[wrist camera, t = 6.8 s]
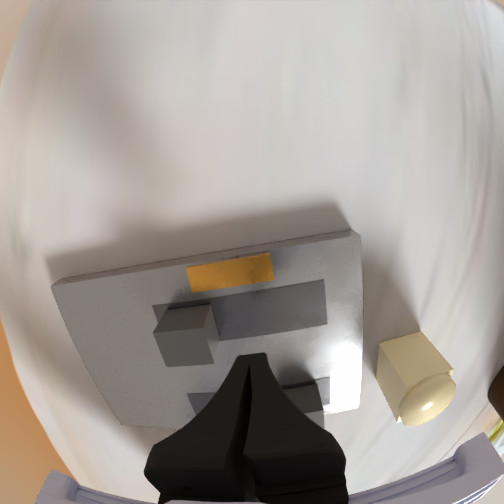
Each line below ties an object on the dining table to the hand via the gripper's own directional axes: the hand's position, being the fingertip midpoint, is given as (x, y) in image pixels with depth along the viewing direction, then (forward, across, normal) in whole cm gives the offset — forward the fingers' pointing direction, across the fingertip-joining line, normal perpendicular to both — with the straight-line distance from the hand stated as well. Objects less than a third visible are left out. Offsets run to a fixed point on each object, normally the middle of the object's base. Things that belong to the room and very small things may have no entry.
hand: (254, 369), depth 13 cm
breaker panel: (+7, +4, +3) cm, 9 cm away
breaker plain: (+5, -2, +8) cm, 10 cm away
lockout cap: (+7, -11, +7) cm, 15 cm away
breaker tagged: (+5, +4, 0) cm, 6 cm away
